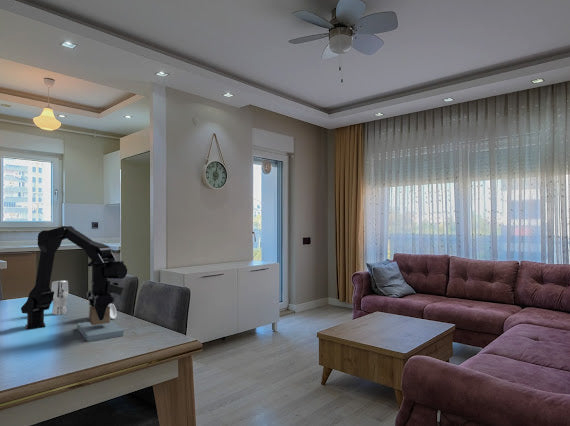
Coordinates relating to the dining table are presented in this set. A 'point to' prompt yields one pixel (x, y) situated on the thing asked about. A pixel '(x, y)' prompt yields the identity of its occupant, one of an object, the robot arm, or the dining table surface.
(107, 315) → the walnut cube
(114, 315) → the spread jar
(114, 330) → the slate board
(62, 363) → the dining table surface
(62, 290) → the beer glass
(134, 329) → the dining table surface
